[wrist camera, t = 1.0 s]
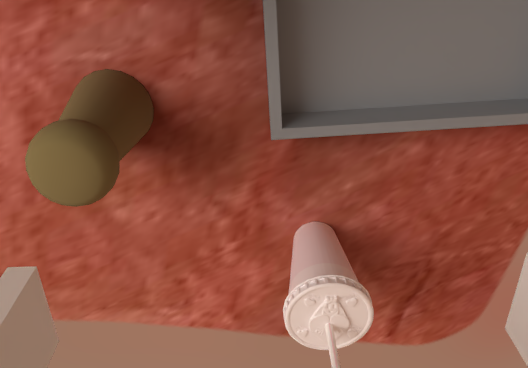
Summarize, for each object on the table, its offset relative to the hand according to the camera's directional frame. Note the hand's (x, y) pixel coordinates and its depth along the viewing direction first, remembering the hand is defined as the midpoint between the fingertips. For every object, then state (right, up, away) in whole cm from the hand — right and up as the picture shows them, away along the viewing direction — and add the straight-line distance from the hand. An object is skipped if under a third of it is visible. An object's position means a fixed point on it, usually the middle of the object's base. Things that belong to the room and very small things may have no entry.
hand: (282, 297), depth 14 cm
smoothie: (+4, -2, +30) cm, 30 cm away
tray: (+10, +14, +21) cm, 27 cm away
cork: (-12, +9, +24) cm, 28 cm away
